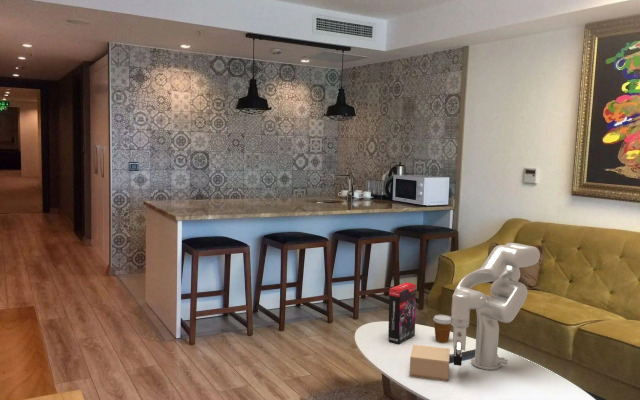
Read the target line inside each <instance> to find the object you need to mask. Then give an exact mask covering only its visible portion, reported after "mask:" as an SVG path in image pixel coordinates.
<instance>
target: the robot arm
mask: <svg viewBox="0 0 640 400" xmlns="http://www.w3.org/2000/svg"><path fill="white" fill-rule="evenodd" d="M540 257H541V252H540V250H539V249H538V248H537V247H535V246H532V245H527V244H522V243H518V242H507V243H506V244H504V245H502V244H499V245H496V246H495V247H494V248H493V249H492V251H491V252H490V254H489V255H488V256H487V258H486V260H485V261H484V263H482V265H481V266H480V268H478V269H476V270H474V271H471V272H470V273H468V274H466V275H465V276H463V278H462V279H461V280H460V281H459V283H458V284H457V285H456V287H455V289H454V292H453V294H452V296H451V297H452V299H451V311H450V312H451V313H450V317H451V327H453V330H452V347H453V354H454V353H455V355H454V358H453V365H454V366H458V367H459V366H462V361H463V358H462V356H463V352H462V351H466V343H467V342H466V341H467V328H469V326H470V315H471V314H470V313H471V310H475V312H476V322H477V323H476V332H475V333H476V335H475V336H476V337H475V348H474V349H475V351H474V353H475V354H474V357H472V358H471V360H470V363H471V365H472V366H474V367H476V368H478V369H481V370H487V371H488V370H489V371H494V370H498V369H499V368H500V367H501V364H505V365H508V364H509V360H508V359H506V358H505V357H500V356H499V354H498V352H499V351H498V349H499V348H498V347H499V335H500V334H499V333H500V326H499V322H500V323H506V324H509V323H511V322H512V321H513V320H514V319H515V318H516V316H517V315H518V313H519V312H520V311H521V308H522V307H523V305H524V304H525V302H526V300H527V297H528V287H527V286H526V284H525V283H522V282H521V281H519V280H520V277H521V270H520V268H525V267H526V268H527V267H532V266H534V265H536V264H537V263H538V262H539V261H540ZM490 282H492V283H491V285H490V289H489V290H490V294H491V295H489V294H488V295H487V294H484V292H481V291H478V290H475V289H472V288H473V287H475V286H476V285H480V284H485V283H486V284H487V283H490ZM461 355H462V356H461Z"/></svg>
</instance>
